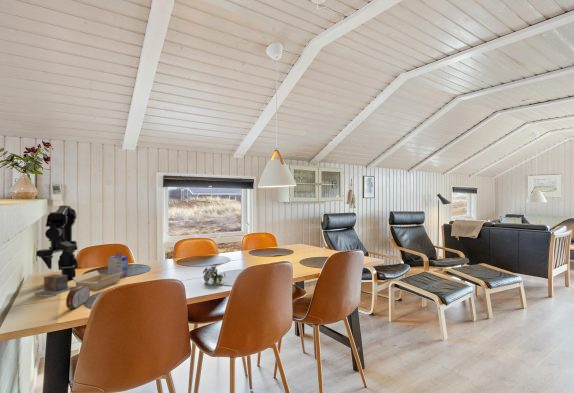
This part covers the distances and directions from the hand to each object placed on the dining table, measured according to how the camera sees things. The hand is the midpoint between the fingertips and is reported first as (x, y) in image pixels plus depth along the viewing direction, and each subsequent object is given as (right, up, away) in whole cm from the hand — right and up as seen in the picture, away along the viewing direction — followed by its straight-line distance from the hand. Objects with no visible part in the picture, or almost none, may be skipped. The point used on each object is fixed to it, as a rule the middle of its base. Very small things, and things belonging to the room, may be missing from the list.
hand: (58, 266), depth 166 cm
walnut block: (0, -11, -2) cm, 11 cm away
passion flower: (+78, -12, +11) cm, 80 cm away
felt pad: (0, -12, -2) cm, 12 cm away
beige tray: (+15, -12, +9) cm, 22 cm away
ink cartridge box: (+18, -12, +25) cm, 33 cm away
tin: (+25, -13, -22) cm, 36 cm away
